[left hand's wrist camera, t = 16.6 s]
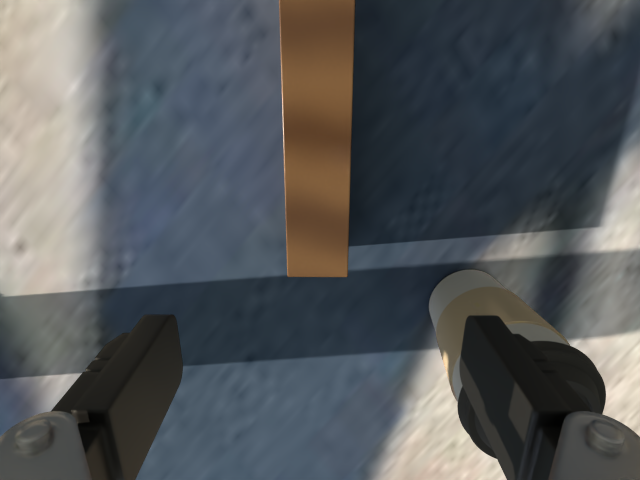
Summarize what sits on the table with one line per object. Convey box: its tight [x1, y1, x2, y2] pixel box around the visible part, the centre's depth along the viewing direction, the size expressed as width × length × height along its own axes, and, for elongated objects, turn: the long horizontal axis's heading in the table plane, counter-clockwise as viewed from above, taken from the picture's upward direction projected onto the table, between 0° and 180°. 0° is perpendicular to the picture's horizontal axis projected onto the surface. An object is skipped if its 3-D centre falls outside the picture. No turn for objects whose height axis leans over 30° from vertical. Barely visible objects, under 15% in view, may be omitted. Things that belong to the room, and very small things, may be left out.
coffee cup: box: [429, 270, 606, 459], centre depth 31 cm, size 9×9×15 cm
